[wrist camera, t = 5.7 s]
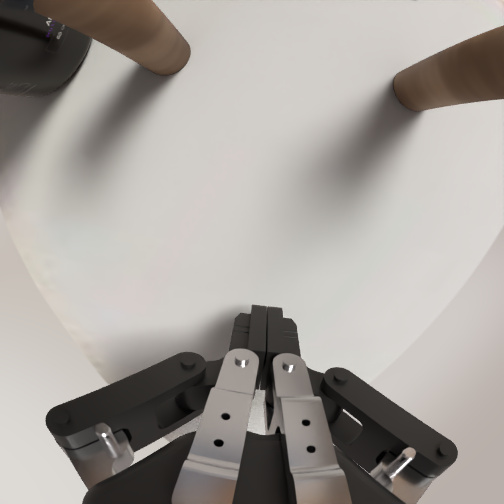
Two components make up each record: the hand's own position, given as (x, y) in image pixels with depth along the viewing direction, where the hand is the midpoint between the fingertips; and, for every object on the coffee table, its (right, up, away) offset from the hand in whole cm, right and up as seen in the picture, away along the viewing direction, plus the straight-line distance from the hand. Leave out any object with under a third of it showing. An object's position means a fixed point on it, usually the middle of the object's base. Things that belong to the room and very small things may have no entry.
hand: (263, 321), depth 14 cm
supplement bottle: (-13, +17, -3) cm, 21 cm away
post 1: (-5, +14, -3) cm, 15 cm away
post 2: (+8, +12, -3) cm, 15 cm away
